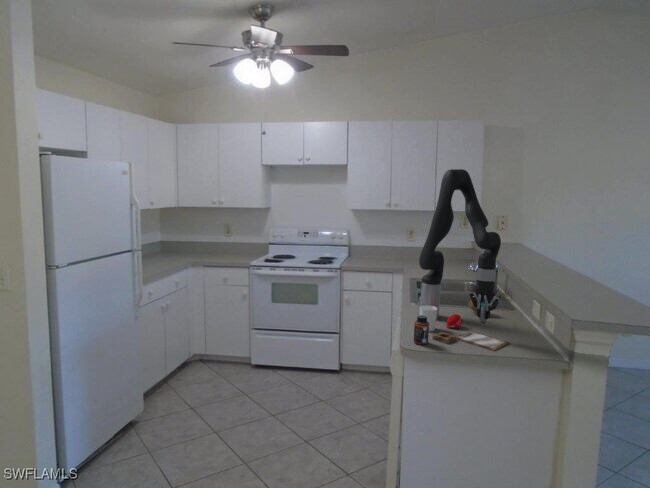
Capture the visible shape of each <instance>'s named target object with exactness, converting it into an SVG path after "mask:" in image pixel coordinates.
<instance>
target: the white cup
mask: <svg viewBox="0 0 650 488" xmlns="http://www.w3.org/2000/svg"><path fill="white" fill-rule="evenodd" d="M420 315H423V316H426V317H427V322H428V323H429V332H434V331H435V330H436V325H437V319H438V318H437V308H436V307H434V306H420ZM436 318H437V319H436Z"/></svg>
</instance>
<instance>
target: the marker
mask: <svg viewBox="0 0 650 488" xmlns="http://www.w3.org/2000/svg"><path fill="white" fill-rule="evenodd" d="M485 311H486V306H485V302H482V303H481V313H480V318H479V321H480V324H483V325H485V324H486V322H487V320H486V319H485Z"/></svg>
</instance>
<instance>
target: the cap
mask: <svg viewBox="0 0 650 488" xmlns="http://www.w3.org/2000/svg"><path fill="white" fill-rule="evenodd" d="M462 323H463V319H462V318H461V315H459V314H457V313H454V314H451V315H449V316H448V317H447V321H446V325H445V327H446V329H450V328H451V327H452V326H455V327H457V329H460V328H461V326H462Z"/></svg>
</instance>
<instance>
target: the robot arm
mask: <svg viewBox="0 0 650 488" xmlns="http://www.w3.org/2000/svg"><path fill="white" fill-rule="evenodd" d="M455 191H460V192H461V194H462V196H463V197H464V201H465V207H464V208H465V209H464V210H465V216H466V218H467V220H468V223H469V224H470V227H471V228H472V235H473V239H474V242H475V244H476V245H477V247H478V248H480V249H481V250H484V252H483V253H481V254H480V255H479V256H478V260H477V261H478V262H477V271H476V279H475V280H476V283H475V288H476V290H475V292H471V293H469V297H470V300H472V303H473V306H474V307H476V308H477V309H478V310H477V314H476V316H477V318H479V319H480V313H481V303H482V302H485V306H486V311H485V319H486V321H487V320H489V319H490V317H491V311H495V310H496V309H497V307H498V305H499V303H500V302H501V298H500V297H497V296H496V294H495V289H496V278H497V277H496V275H497V273H496V265H497V262H496V261H497V257H498V255H499V251H500V248H501V243H502V241H501V236H500V234H498V233H497V232H496V231H487V230H486V228H487V227H488V226H489V221H488V218H487V216H486V215H485V212H484V211H483V209H482V207H481V204H480V202H479V199H478V197H477V193H476V190H475V186H474V184H473V180H472V178H471V175H470V173H469V172H468V170H466V169H462V168H460V169H459V168H458V169H456V168H455V169H453V168H451V169H448V170H446V171H445V172H444V174H443V176H442V179H441V184H440V189H439V195H438V198H437V201H436V202H437V203H436V207H435V210H434V213H433V217H432V218H431V219H432V220H431V223H430V227H429V230H428V234H427V237H426V240H425V242H424V245H423V247H422V250H421V251H420V255H419V260H418V262H419V263H418V264H419V266H420V269H422V270H423V271H425V270H426V271H429V272H428V273H427V274H425V275H423V276H422V278H421V292H420V296H419V298H418V316H419V315H420V306H434V307H436V308H437V318H436V320H437V319H439V317H440V309H441V308H440V304H441V286H442V285H441V284H442V279H443V275H444V267H445V257H444V254H443V253H442V252H441V251H440V250H436V248H437V247H438V245H439V244H440V243H441V242H442V241H443V240H444V239H445V238H446V237H447V235H448V234H449V233H450V231H451V228H452V225H453V222H454V218H455V217H454V216H455V215H454V210H453V206H452V201H453V196H454V193H455ZM476 296H477V298H478V301H477V298H476ZM492 301H493V302H492Z"/></svg>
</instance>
